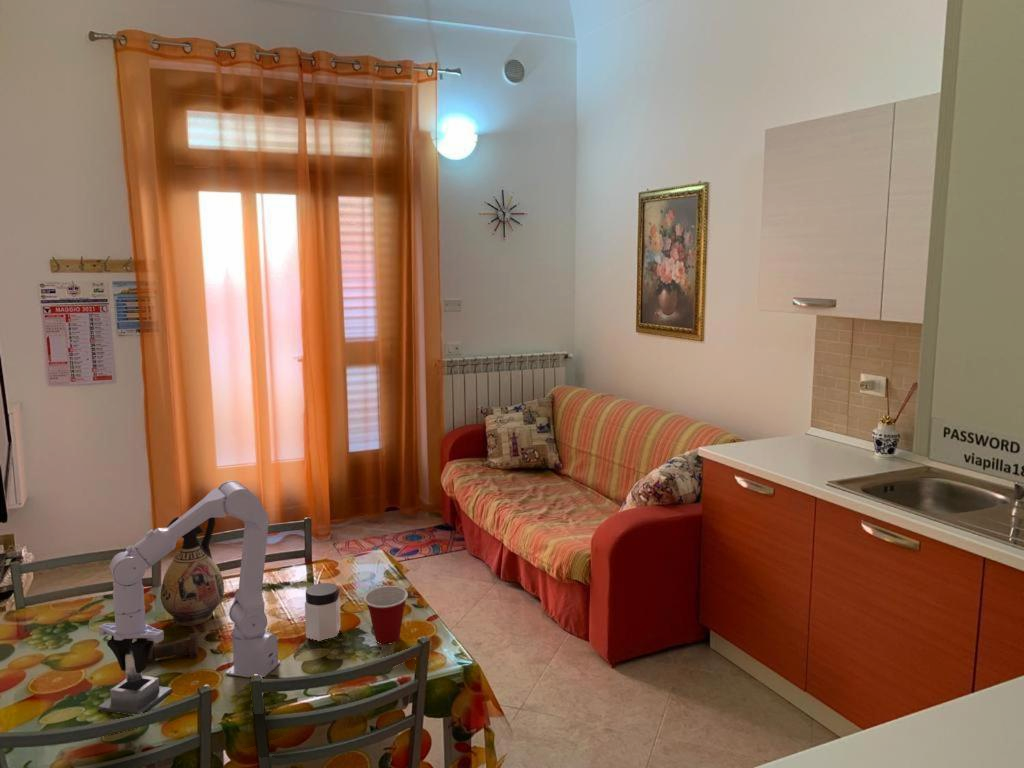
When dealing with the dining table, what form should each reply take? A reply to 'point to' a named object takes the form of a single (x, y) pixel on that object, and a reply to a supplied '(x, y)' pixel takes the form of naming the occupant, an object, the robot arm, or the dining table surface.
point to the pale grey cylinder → (131, 668)
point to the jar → (322, 611)
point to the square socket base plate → (135, 696)
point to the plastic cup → (386, 612)
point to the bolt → (175, 649)
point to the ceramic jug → (192, 580)
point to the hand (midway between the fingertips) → (133, 669)
